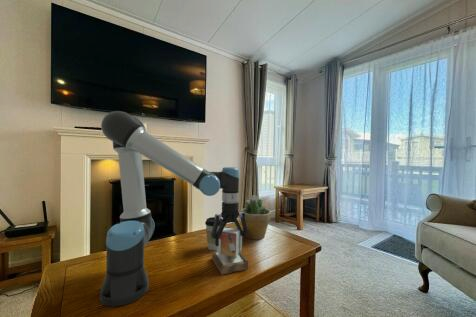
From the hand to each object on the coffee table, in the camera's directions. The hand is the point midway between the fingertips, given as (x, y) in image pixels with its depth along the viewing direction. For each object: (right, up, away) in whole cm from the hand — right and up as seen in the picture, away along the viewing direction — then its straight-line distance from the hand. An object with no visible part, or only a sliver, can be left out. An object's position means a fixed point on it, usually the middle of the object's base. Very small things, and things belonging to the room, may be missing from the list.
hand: (229, 250), depth 94 cm
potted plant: (+14, -6, +33) cm, 37 cm away
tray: (0, -6, 0) cm, 6 cm away
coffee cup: (-9, -6, +16) cm, 19 cm away
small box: (0, -1, 0) cm, 1 cm away
